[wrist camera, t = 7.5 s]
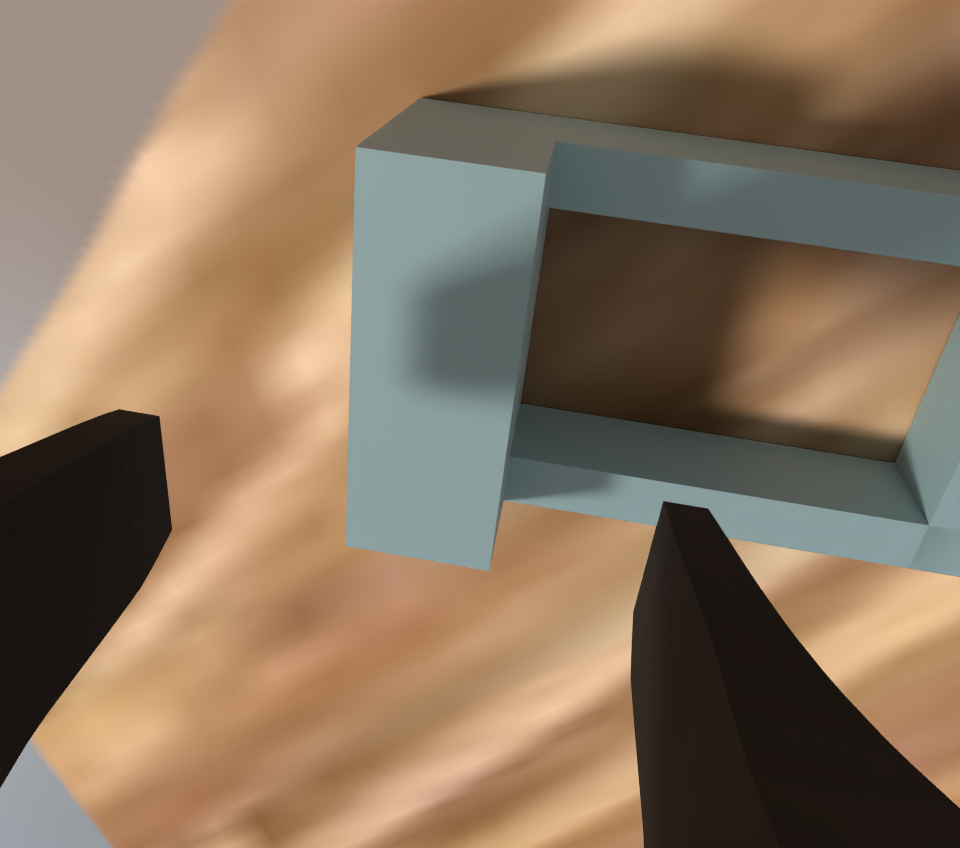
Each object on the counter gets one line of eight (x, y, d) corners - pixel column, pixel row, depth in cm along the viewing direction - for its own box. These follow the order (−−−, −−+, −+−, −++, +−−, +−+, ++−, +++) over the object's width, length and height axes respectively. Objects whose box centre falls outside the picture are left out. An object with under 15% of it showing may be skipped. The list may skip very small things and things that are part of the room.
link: (1080, 186, 16) (1250, 272, 12) (926, 511, 20) (1011, 661, 16) (420, 97, 17) (355, 147, 13) (399, 425, 21) (345, 545, 17)
